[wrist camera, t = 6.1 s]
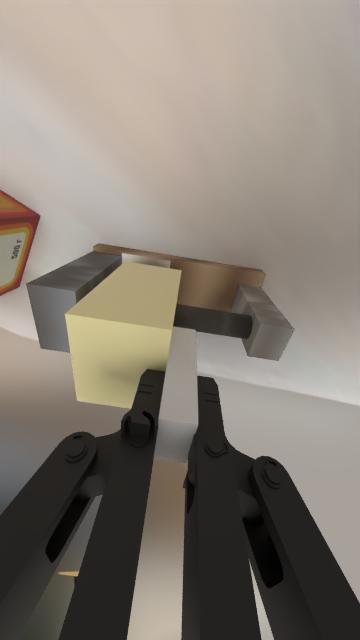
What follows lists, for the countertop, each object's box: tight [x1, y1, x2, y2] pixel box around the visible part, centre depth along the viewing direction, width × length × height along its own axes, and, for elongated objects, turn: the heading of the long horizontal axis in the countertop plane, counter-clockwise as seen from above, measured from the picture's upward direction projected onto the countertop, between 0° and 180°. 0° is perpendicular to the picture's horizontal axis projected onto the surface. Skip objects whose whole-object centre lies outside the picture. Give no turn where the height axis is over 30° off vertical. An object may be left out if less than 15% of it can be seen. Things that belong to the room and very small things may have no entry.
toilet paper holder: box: [26, 244, 294, 361], centre depth 19 cm, size 18×6×12 cm, turn 82°
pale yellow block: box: [65, 261, 182, 408], centre depth 16 cm, size 5×6×10 cm
